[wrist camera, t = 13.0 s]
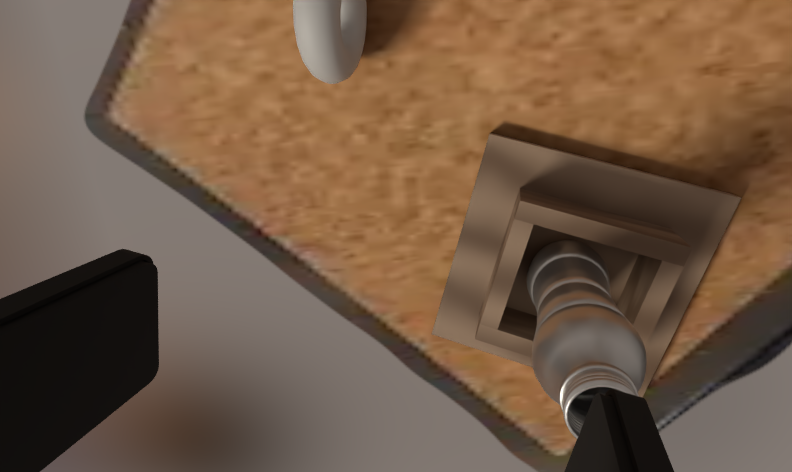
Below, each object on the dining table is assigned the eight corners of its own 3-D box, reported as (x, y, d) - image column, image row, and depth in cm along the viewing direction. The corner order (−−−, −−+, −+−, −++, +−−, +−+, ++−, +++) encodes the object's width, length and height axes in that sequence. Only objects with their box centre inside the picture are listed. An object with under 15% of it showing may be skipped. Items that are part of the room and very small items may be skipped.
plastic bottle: (611, 240, 39) (697, 372, 21) (593, 311, 42) (655, 488, 23) (533, 227, 41) (548, 341, 22) (519, 297, 43) (522, 455, 24)
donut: (369, 86, 42) (327, 84, 33) (333, 83, 43) (282, 80, 33) (376, -39, 39) (333, -80, 30) (337, -41, 40) (283, -81, 30)
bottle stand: (490, 132, 41) (486, 139, 35) (733, 194, 38) (774, 213, 32) (434, 327, 47) (422, 361, 41) (635, 392, 44) (654, 440, 38)
